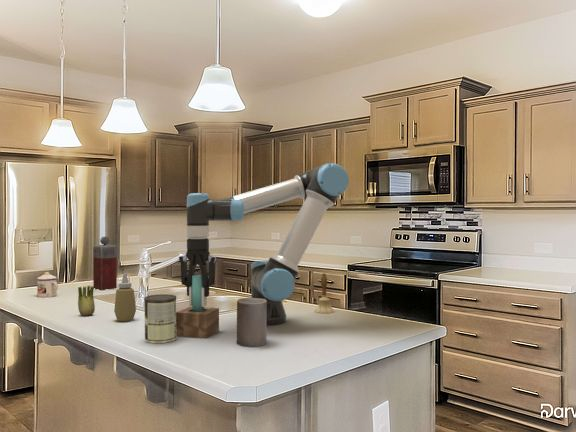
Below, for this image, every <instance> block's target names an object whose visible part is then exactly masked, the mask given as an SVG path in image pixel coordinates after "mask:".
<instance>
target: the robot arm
mask: <svg viewBox="0 0 576 432" xmlns="http://www.w3.org/2000/svg"><path fill="white" fill-rule="evenodd" d="M349 181H350V180H349V174H348V172H347V171H346V169H345V168H344V167H343V166H341V165H340V164H337V163H331V162H329V163H324V164H323V165H318V166H315V167H314V168H312V169H311V168H310V169H309V170H307V171H304V172H301V173H300V174H296V175H294V177H293V178H291V179H288V180H283V181H281V182H278V183H273V184H271V185H267V186H264V187H260V188H257V189H253V190H249V191H245V192H243V193H239V194H236V195H232V196H230V197H226V198H219V199H217V198H216V199H215V198H214V199H213V198H210V195H209V194H208V193H203V192H196V193H195V192H193V193H192V192H191V193H189V194H188V195H186V196H187V197H186V238H187V239H186V252H185V255H180V256H179V257H178V260H179V262H180V277H181V278H180V280H181V282H180V283H181V285H184V286H185V287H186V296H187V297H188V305H189V307H192V275H195V272H196V267H197V266H199V268H200V275H202V280H203V285H204V286H203V287H202V307H206V306H207V305H208V297H209V296H210V287H211V286H214V285H215V284H216V281H215V280H216V277H215V276H216V262H217V260H218V257H217V256H213V255H211V254H210V250H209V249H210V240H209V236H210V233H209V232H210V227H209V226H210V221H214V222H215V221H219V222H227V221H232V222H236V221H242V220H243V219H244V215H245V214H247V213H250V212H255V211H257V210H261V209H265V208H267V207H272V206H275V205H278V204H281V203H284V202H288V201H291V200H295V199H299V198H300V199H301V200H304V199H305V200H304V202H303V204H302V205H301V207H300V209H299V211H298V213H297V215H296V216H295V219H294V221H293V222H292V224H291V226H290V229H289V230H288V232H287V234H286V236H285V237H284V240H283V242H282V244H281V246H280V247H279V249H278V251H277V253H276V254H275V255H271V256H270V257H269V259H268V260H263V261H262V260H261V261H259V260H258V261H253V262H252V263H251V268H250V272H251V276H250V277H251V280H250V281H251V284H250V286H251V287H250V289H251V290H250V291H251V292H250V293H251V294H250V295H251V296H252V298H261V299H265V300H266V301H267V318H266V326H268V325H269V326H270V325H271V326H273V325H281V324H284V323H285V322H287V314H286V310H285V307H284V305H283V301H286V300H287V299H288V298H290V296H292V294H293V292H294V290H295V285H296V284H295V281H296V278H297V276H298V275H299V273H300V272H299V270H300V269H299V268H298V266H299V264H300V261H301V259H302V258H303V255H305V253H306V250H307V249H308V248H309V247H308V246H310V243H311V241H312V238H313V237H314V235H315V233H316V231H317V229H318V228H319V225H320V223H321V222H322V219H323V218H324V216H325V215H326V212H327V210H328V208H331V207H334V206H335V203H336V202H337V200H338V198H339V196H340V195H342V194H343V193H345V192H346V190H347V189H348V188H349V187H348V186H349ZM187 261H189V264H188V262H187ZM207 261H208V262H209V264H208V265H209V266H208V268H207ZM251 296H250V297H251Z"/></svg>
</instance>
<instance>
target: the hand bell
mask: <svg viewBox="0 0 576 432" xmlns="http://www.w3.org/2000/svg"><path fill="white" fill-rule="evenodd" d="M320 284H321V289H322V290H321V292H322V293H321V295H322V296H321V297H320V298H318V299H319V300H318V304H317V307H316V308H315V309H314V313H317V314H332V313H334V312H335V310H334V309H333V307H332V305H331V301H330V300H331V299H330V298H329V297H328V296H327V286H328V279H327V274H326V273H322V275H321V278H320Z"/></svg>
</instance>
